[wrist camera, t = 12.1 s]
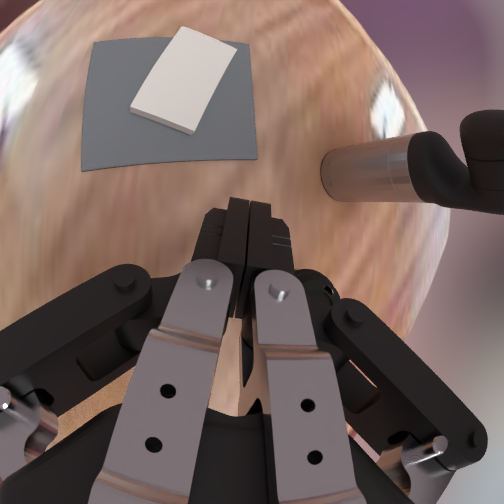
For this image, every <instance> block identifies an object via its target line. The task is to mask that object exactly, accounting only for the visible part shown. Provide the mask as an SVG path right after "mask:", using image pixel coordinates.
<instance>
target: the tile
mask: <svg viewBox="0 0 504 504" xmlns="http://www.w3.org/2000/svg"><path fill="white" fill-rule="evenodd" d="M236 51H237V49H236V48H234V47H232V46H230V45H227V44H225V43H223V42H221V41H219V40H216V39H214V38H212V37H209V36H207V35H204V34H202V33H200V32H197V31H194V30H192V29H189V28H187V27H184V26H182V27H181V28H180V30H179V31H178V32H177V34H176V35H175V36H174V38H173V39H172V40H171V42H170V43H169V45H168V46H167V47H166V49H165V50H164V52H163V53H162V55H161V56H160V58H159V59H158V61H157V62H156V64H155V65H154V67H153V68H152V70H151V71H150V73H149V75H148V76H147V78H146V79H145V81H144V83H143V84H142V86H141V88H140V90H139V91H138V93H137V95H136V97H135V98H134V100H133V102H132V104H131V106H130V112H131V113H134V114H137V115H140V116H143V117H145V118H148V119H151V120H154V121H156V122H159V123H161V124H164V125H167V126H169V127H172V128H174V129H177V130H179V131H182V132H184V133H187V134H189V135H192V134H193V133H194V132H195V130H196V128H197V125H198V123H199V121H200V119H201V117H202V115H203V113H204V111H205V109H206V107H207V105H208V103H209V101H210V99H211V97H212V95H213V93H214V91H215V89H216V87H217V85H218V83H219V81H220V79H221V77H222V76H223V74H224V72H225V70H226V68H227V67H228V65H229V63H230V61H231V59H232V58H233V56H234V54H235V52H236Z"/></svg>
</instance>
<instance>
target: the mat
mask: <svg viewBox="0 0 504 504" xmlns="http://www.w3.org/2000/svg"><path fill="white" fill-rule="evenodd" d="M173 38H174V37H154V38H131V39H118V40H108V41H100V42H94V44H93V49H92V54H91V59H90V65H89V71H88V77H87V84H86V92H85V101H84V111H83V124H82V146H81V171H82V172H84V171H91V170H98V169H106V168H114V167H122V166H132V165H142V164H154V163H167V162H183V161H207V160H257V159H258V158H257V143H256V129H255V114H254V100H253V87H252V74H251V61H250V48H249V44H244V43H238V42H230V41H221V40H219V41H221V42H223V43H225V44H227V45H230V46H232V47H234V48H236V49H237V51H236V52H235V54H234V56H233V58H232V59H231V61H230V63H229V65H228V67H227V68H226V70H225V72H224V74H223V76H222V77H221V79H220V81H219V83H218V85H217V87H216V89H215V91H214V93H213V95H212V97H211V99H210V101H209V103H208V105H207V107H206V109H205V111H204V113H203V115H202V117H201V119H200V121H199V123H198V125H197V128H196V130H195V132H194V133H193V134H192V135H189V134H187V133H184V132H182V131H179V130H177V129H174V128H172V127H169V126H167V125H164V124H161V123H159V122H156V121H154V120H151V119H148V118H145V117H143V116H140V115H137V114H134V113H131V112H130V106H131V104H132V102H133V100H134V98H135V97H136V95H137V93H138V91H139V90H140V88H141V86H142V84H143V83H144V81H145V79H146V78H147V76H148V75H149V73H150V71H151V70H152V68H153V67H154V65H155V64H156V62H157V61H158V59H159V58H160V56H161V55H162V53H163V52H164V50H165V49H166V47H167V46H168V45H169V43H170V42H171V40H172V39H173Z"/></svg>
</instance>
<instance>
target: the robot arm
mask: <svg viewBox="0 0 504 504" xmlns="http://www.w3.org/2000/svg"><path fill="white" fill-rule="evenodd" d="M460 137H461V143H462V147H463V150H464V154H465V158H466V162H467V166H468V167H467V166H466V165H464V164H463V163H462V162H461V160H460V159H459V158H458V157H457V156H456V154H455V153H454V152H453V150H452V148H451V147H450V146H449V144H448V143H447V141H446V140H445V139H444V138H443V137H442V136H441V135H440V134H438V133H436V132H432V131H426V132H420V133H414V134H408V135H402V136H398V137H392V138H387V139H382V140H377V141H372V142H367V143H362V144H358V145H353V146H349V147H344V148H340V149H336V150H333V151H330V152H329V153H328V154H327V155H326V156H325V158H324V160H323V162H322V167H321V177H322V182H323V185H324V187H325V189H326V191H327V192H328V194H329V195H330V196H331V197H332V198H333V199H335V200H337V201H340V202H415V203H435V204H438V205H440V206H442V207H447V208H456V209H465V210H472V211H479V212H485V213H492V214H499V215H504V110H483V111H477V112H474V113H471V114H469V115H468V116H466V117H465V118H464V119H463V120H462V122H461V124H460ZM235 306H236V310H235ZM234 310H235V318H239V319H242V329H241V333H240V336H239V371H240V396H239V403H238V417H234V416H229V415H226V414H223V413H220V412H218V411H215V410H212V409H210V408H208V407H209V401H210V396H211V391H212V386H213V381H214V376H215V371H216V366H217V361H218V356H219V352H220V347H221V342H222V337H223V335H224V334H225V332H226V327H227V323H228V318H229V317H231V318H233V314H234ZM349 360H351V361H352V362H353V363H354V364H355V365H356V366H357V367H358V368H359V369H360V370H361V371H362V372H363V373H364V374H365V375H366V376H367V377H368V378H369V379H370V380H371V381H372V382H373V383H374V384H375V385H376V386H377V387H375V386H373V385H372V384H371V383H370V382H369V381H368V380H367V379H366V378H365V377H364V376H363V375H362V374H361V373H360V372H359V371H358V370H357V369H356V368H355V367H354V365H353V364H352V363H351V362H350V361H349ZM135 365H136V366H135ZM134 366H135V369H134V372H133V375H132V377H131V380H130V383H129V386H128V389H127V392H126V394H125V397H124V400H123V403H121V404H118V405H115V406H112V407H110V408H108V409H106V410H104V411H102V412H101V413H99V414H98V415H96V416H95V417H93V418H92V419H91V420H89V421H88V422H87V423H85V424H84V425H82V426H81V427H80V428H78V429H77V430H76V431H74V432H73V433H71V434H70V435H69V436H67V437H66V438H64V439H63V440H61V441H60V442H59V443H57V444H56V445H54V446H53V447H51V448H50V449H49V450H47V451H46V452H45V450H46V448H47V446H48V445H49V444H50V443H51V442H52V441H53V440H54V439H55V437H56V436H57V434H58V419H57V417H59V416H60V415H62V414H64V413H65V412H67V411H68V410H70V409H71V408H73V407H74V406H76V405H77V404H79V403H80V402H82V401H83V400H85V399H87V398H88V397H90V396H91V395H93V394H94V393H96V392H97V391H99V390H100V389H102V388H103V387H104V386H106V385H107V384H109V383H110V382H112V381H113V380H115V379H116V378H118V377H119V376H121V375H122V374H124V373H125V372H127V371H128V370H130V369H131V368H132V367H134ZM345 421H346V422H347V423H348V424H349V425H350V426H351V427H352V428H353V429H354V430H355V431H356V432H357V433H358V434H359V435H360V436H361V437H362V438H363V439H364V440H365V441H366V442H367V443H368V444H369V446H370V447H371V448H372V449H373V450H375V452H376V453H377V454H378V455H379V456H380V459H379V460H378V461H377V462H376V463H375V462H374V461H373V460H372V459H371V458H370V457H369V455H368V454H367V453H366V452H365V451H364V450H363V449H362V448H361V447H360V446H359V445H358V443H357V442H356V441H355V440H354V439H353V438H352V437H351V436H350V435H348V433H347V427H346V422H345ZM487 443H488V437H487V432H486V430H485V427H484V426H483V424H482V423H481V422H480V421H479V420H478V419H477V418H476V417H475V415H474V414H473V413H472V412H471V411H470V410H469V409H468V408H467V407H466V406H465V405H464V403H463V402H462V401H461V400H460V399H459V398H458V397H457V396H456V395H455V394H454V393H453V392H452V391H451V389H449V387H448V386H447V385H446V384H445V383H444V382H443V381H442V380H441V379H440V378H439V377H438V376H437V375H436V374H435V373H434V372H433V371H432V370H431V369H430V368H429V367H428V366H427V365H426V364H425V363H424V362H423V361H422V360H421V359H420V358H419V357H418V356H417V355H416V354H415V353H414V352H413V351H412V350H411V349H410V348H409V347H408V346H407V345H406V344H405V343H404V342H403V341H402V340H401V339H400V338H399V337H398V336H397V335H396V334H395V333H394V332H393V331H392V330H391V329H390V328H389V327H388V326H387V325H386V324H385V323H384V322H383V321H382V320H381V319H380V318H378V317H377V316H376V315H375V314H374V313H373V312H372V311H371V310H370V309H369V308H368V307H367V306H366V305H364V304H363V303H361V302H359V301H357V300H355V299H350V298H343V299H340V300H338V301H336V302H335V303H334V304H333V306H330V305H328V304H325V303H323V302H320V301H318V300H315V299H313V298H311V297H310V296H308V295H307V294H306V293H305V291H304V287H303V285H302V284H301V282H300V281H299V280H298V279H297V278H296V277H295V272H294V264H293V256H292V248H291V240H290V233H289V228H288V227H287V225H286V224H285V223H284V221H283V220H282V219H277V218H271V204H268V203H263V202H257V201H251V202H250V206H249V200H245V199H239V198H233V197H230V200H229V205H228V209H227V210H224V209H218V208H213V209H211V210H210V211H209V212H208V213H207V214H205V217H204V220H203V224H202V227H201V230H200V233H199V236H198V240H197V243H196V246H195V250H194V253H193V256H192V260H191V262H190V263H188V264H187V265H186V266H185V267H184V268H183V270H182V272H181V273H179V274H177V275H174V276H170V277H163V278H150V276H149V274H148V272H147V271H146V270H145V269H143V268H142V267H140V266H137V265H133V264H122V265H118V266H115V267H112V268H111V269H109V270H107V271H105V272H103V273H101V274H99V275H97V276H95V277H93V278H92V279H90V280H88V281H86V282H84V283H82V284H80V285H79V286H77V287H75V288H73V289H71V290H69V291H68V292H66V293H64V294H62V295H61V296H59V297H57V298H55V299H53V300H52V301H50V302H48V303H46V304H45V305H43V306H41V307H39V308H38V309H36V310H34V311H33V312H31V313H29V314H28V315H26V316H24V317H23V318H21V319H19V320H18V321H16V322H14V323H13V324H11V325H9V326H8V327H6V328H5V329H3V330H1V331H0V476H1V478H2V480H3V482H2V483H1V485H0V504H436V502H437V501H438V500H439V498H440V496H441V495H442V493H443V492H444V490H445V488H446V487H447V485H448V484H449V482H450V480H451V478H452V477H453V475H454V473H455V472H456V470H458V469H460V468H463V467H466V466H468V465H471V464H473V463H475V462H477V461H479V460H481V458H482V457H483V456H484V454H485V452H486V449H487Z"/></svg>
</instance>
